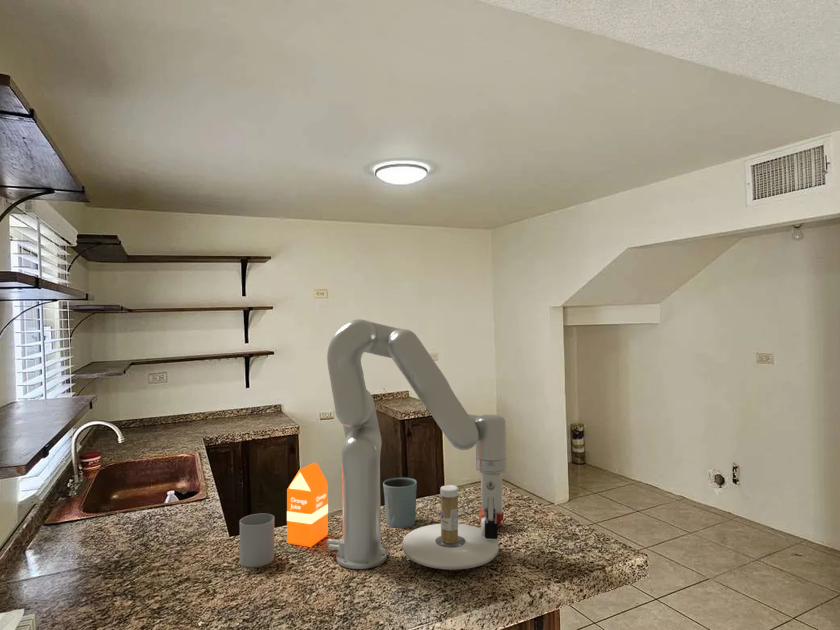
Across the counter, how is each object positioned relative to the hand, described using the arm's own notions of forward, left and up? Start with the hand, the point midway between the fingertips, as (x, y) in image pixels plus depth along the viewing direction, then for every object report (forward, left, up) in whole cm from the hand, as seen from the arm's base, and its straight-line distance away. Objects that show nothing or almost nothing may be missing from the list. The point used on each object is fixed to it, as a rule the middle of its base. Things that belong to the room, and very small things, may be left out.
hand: (491, 537), depth 129 cm
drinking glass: (-27, +19, -5) cm, 34 cm away
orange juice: (-50, +4, -5) cm, 51 cm away
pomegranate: (0, +19, -5) cm, 20 cm away
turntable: (-10, -2, -5) cm, 11 cm away
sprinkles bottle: (-10, -2, -1) cm, 11 cm away
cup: (-58, -10, -5) cm, 59 cm away
